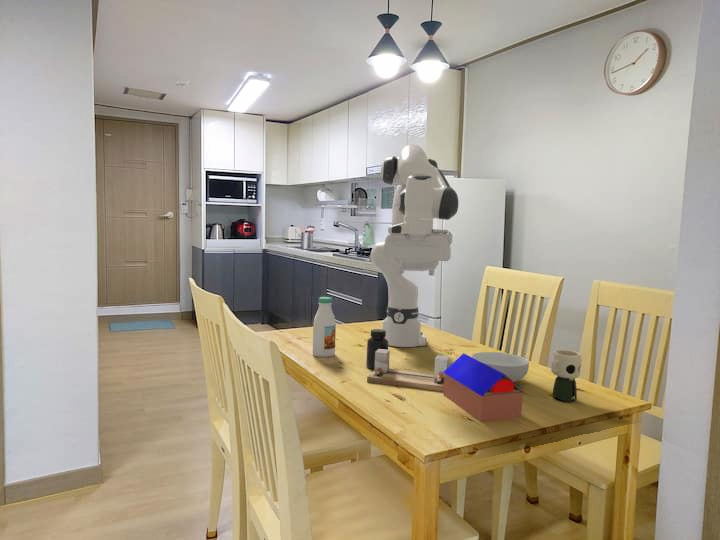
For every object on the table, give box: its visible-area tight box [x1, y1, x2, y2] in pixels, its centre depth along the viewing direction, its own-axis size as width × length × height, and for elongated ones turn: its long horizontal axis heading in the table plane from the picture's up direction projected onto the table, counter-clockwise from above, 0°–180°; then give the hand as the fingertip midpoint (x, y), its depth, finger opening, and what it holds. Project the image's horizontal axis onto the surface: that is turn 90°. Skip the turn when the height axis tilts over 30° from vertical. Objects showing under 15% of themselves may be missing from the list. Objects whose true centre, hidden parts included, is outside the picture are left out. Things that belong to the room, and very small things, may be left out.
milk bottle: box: [312, 296, 337, 358], centre depth 183 cm, size 8×8×20 cm
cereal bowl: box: [471, 351, 530, 383], centre depth 161 cm, size 17×17×7 cm
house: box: [443, 353, 525, 423], centre depth 138 cm, size 12×20×12 cm, turn 19°
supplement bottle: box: [365, 328, 389, 370], centre depth 171 cm, size 7×7×12 cm
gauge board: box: [366, 349, 444, 393], centre depth 157 cm, size 11×27×8 cm, turn 73°
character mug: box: [550, 349, 582, 402], centre depth 146 cm, size 11×7×13 cm, turn 117°
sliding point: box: [433, 355, 450, 382], centre depth 155 cm, size 7×4×6 cm, turn 163°
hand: (416, 274), depth 162 cm, fingers open, 8 cm apart
